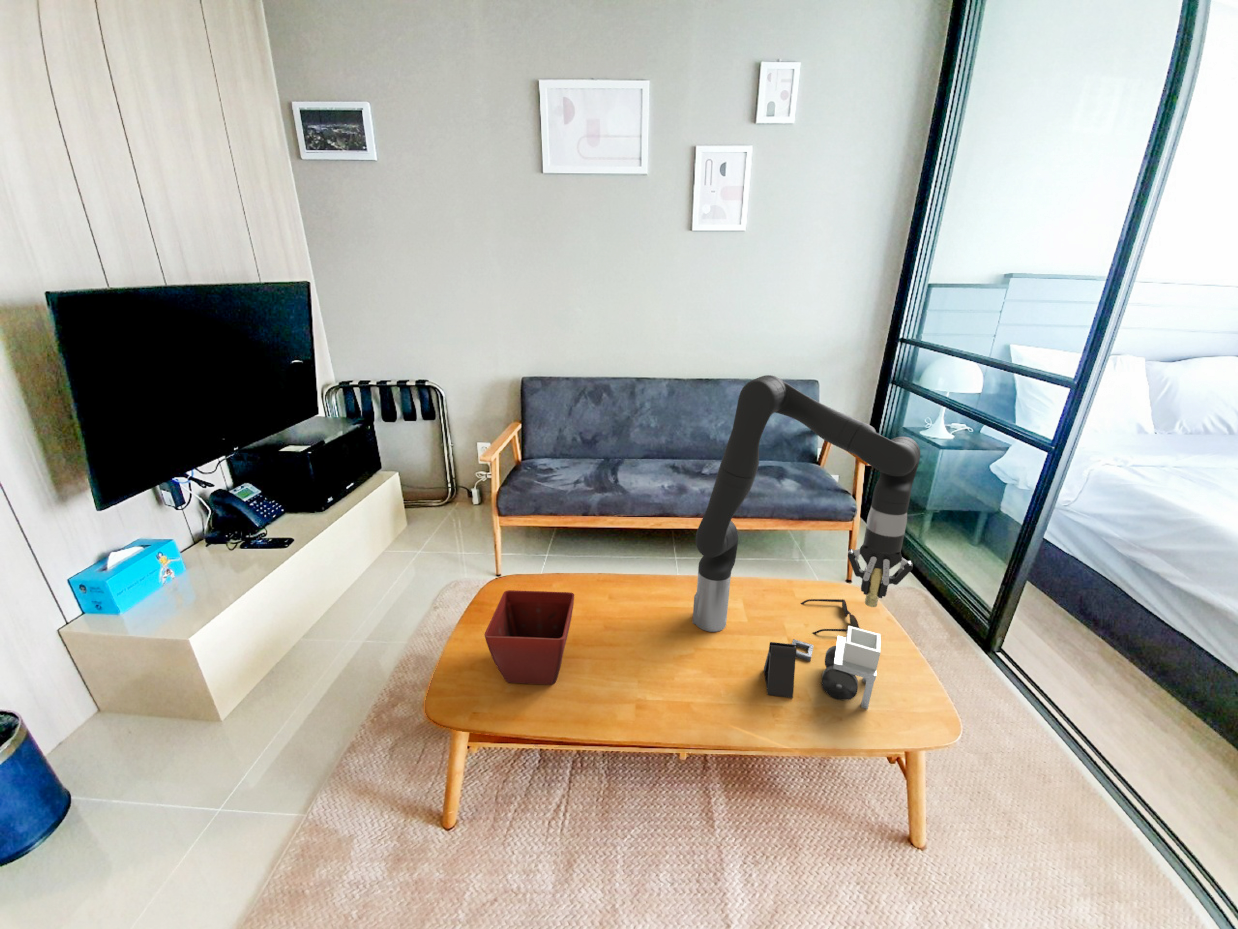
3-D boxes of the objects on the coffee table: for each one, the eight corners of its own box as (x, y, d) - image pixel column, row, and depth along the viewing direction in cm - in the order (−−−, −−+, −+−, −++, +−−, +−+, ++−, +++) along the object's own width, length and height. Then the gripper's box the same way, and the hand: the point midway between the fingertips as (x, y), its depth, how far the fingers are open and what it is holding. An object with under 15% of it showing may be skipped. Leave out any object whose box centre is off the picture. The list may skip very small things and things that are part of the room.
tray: (843, 660, 121) (846, 643, 119) (845, 642, 127) (848, 625, 125) (876, 670, 118) (880, 652, 116) (876, 651, 124) (880, 634, 122)
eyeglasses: (859, 639, 145) (862, 624, 143) (807, 636, 145) (809, 622, 144) (841, 607, 158) (844, 594, 156) (793, 605, 159) (795, 592, 157)
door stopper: (792, 698, 123) (799, 659, 119) (767, 695, 124) (772, 656, 120) (787, 672, 132) (793, 634, 127) (763, 669, 132) (768, 631, 128)
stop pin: (864, 605, 117) (871, 567, 114) (864, 599, 119) (871, 562, 116) (877, 608, 116) (884, 570, 113) (877, 602, 118) (884, 564, 115)
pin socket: (789, 655, 137) (790, 651, 137) (792, 643, 142) (793, 639, 141) (810, 661, 135) (811, 657, 135) (812, 649, 140) (813, 645, 139)
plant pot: (508, 639, 142) (504, 589, 136) (576, 643, 141) (574, 591, 136) (488, 692, 124) (482, 636, 119) (565, 696, 124) (563, 639, 118)
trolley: (819, 694, 125) (825, 660, 121) (823, 665, 134) (829, 633, 130) (868, 710, 120) (876, 675, 116) (869, 679, 129) (876, 646, 126)
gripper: (850, 528, 111) (839, 595, 116) (923, 541, 105) (907, 611, 111) (851, 514, 117) (841, 579, 123) (920, 526, 111) (906, 593, 117)
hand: (872, 594), depth 117 cm, fingers closed on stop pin, 2 cm apart
